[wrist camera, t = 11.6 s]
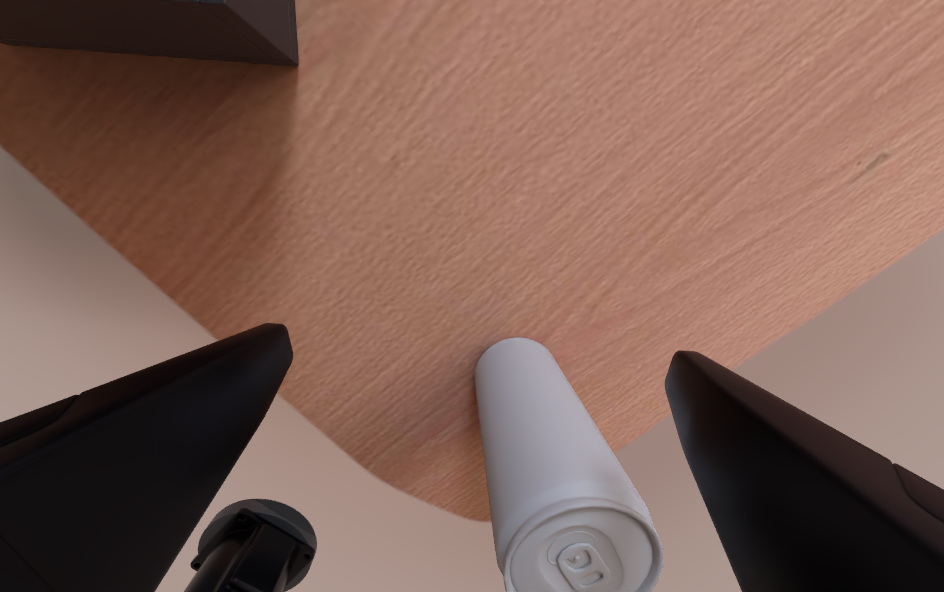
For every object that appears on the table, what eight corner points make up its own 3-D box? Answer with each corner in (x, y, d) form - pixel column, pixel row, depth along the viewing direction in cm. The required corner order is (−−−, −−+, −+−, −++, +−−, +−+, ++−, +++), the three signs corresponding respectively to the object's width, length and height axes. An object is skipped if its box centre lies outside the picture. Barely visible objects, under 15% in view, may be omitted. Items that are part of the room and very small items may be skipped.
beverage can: (531, 318, 21) (628, 470, 9) (567, 383, 22) (693, 587, 11) (458, 359, 21) (466, 552, 10) (498, 420, 23) (546, 655, 11)
